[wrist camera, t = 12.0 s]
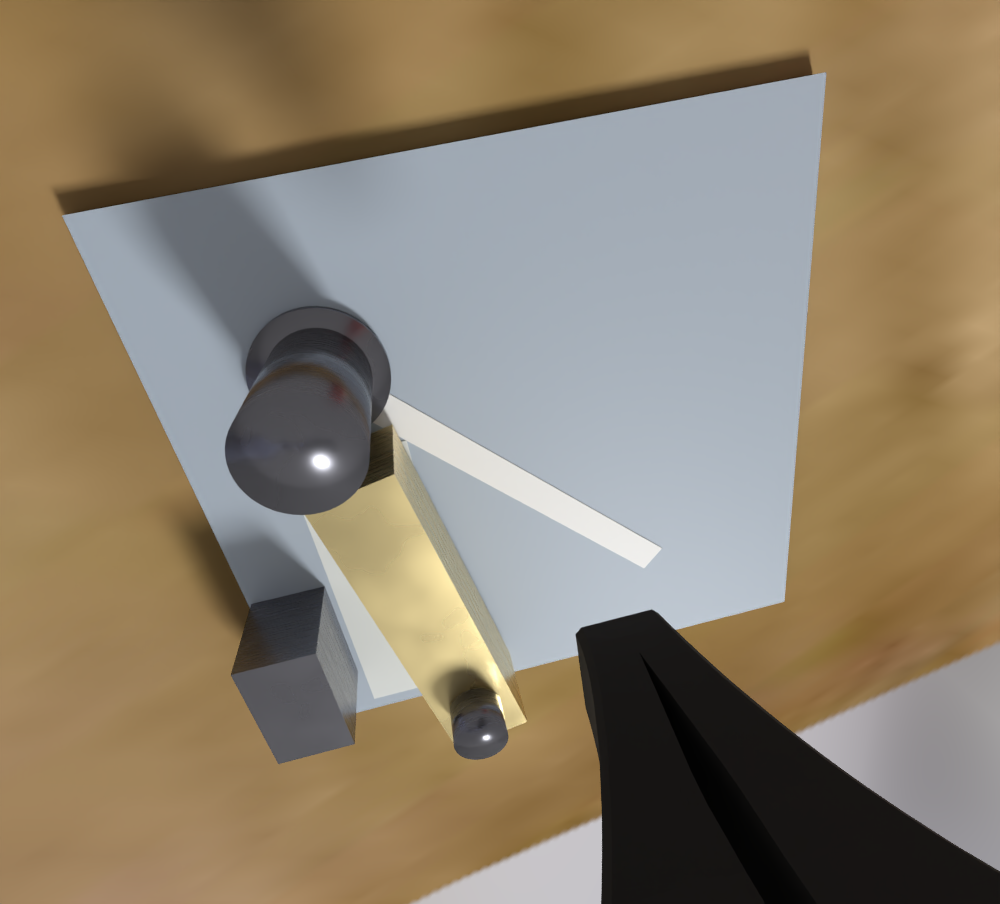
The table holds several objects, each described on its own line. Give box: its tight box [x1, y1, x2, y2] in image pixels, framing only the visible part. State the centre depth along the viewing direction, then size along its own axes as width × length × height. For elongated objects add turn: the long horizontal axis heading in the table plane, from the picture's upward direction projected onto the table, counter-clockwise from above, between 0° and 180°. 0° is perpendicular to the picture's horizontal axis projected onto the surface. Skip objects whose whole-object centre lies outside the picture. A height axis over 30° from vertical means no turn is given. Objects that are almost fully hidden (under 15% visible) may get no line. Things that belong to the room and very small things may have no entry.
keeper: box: [231, 586, 358, 764], centre depth 19 cm, size 2×4×3 cm, turn 9°
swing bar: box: [305, 425, 527, 760], centre depth 18 cm, size 10×2×4 cm, turn 20°
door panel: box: [63, 73, 826, 713], centre depth 19 cm, size 19×18×1 cm
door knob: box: [225, 306, 391, 515], centre depth 14 cm, size 4×4×5 cm
